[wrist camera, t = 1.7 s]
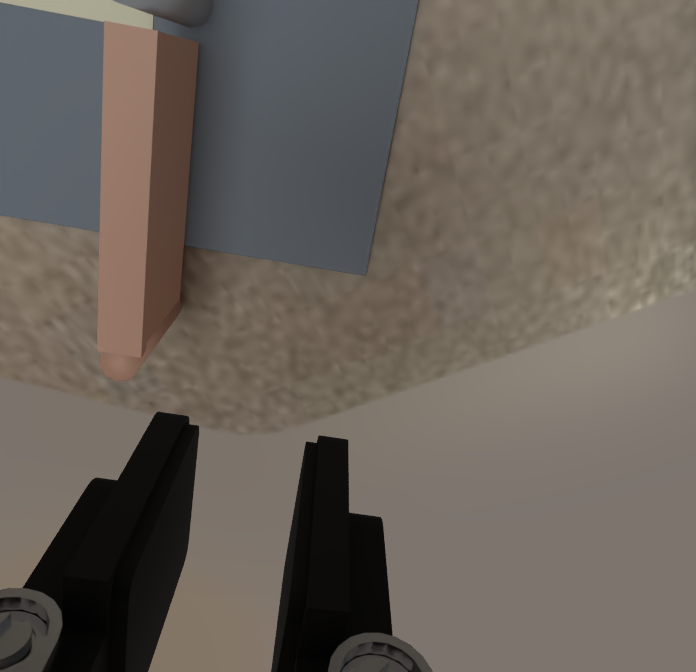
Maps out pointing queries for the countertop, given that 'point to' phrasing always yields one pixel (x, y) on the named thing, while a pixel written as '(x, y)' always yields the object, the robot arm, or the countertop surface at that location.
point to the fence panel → (142, 190)
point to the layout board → (218, 118)
